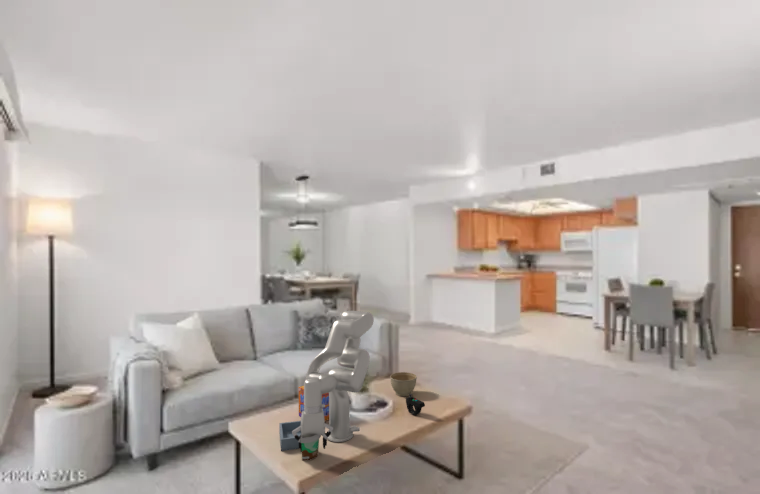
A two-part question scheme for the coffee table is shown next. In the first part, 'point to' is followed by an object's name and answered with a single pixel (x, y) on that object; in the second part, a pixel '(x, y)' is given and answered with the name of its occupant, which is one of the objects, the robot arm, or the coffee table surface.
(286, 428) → the bin
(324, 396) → the game box
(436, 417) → the coffee table surface
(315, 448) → the latticed semicircular wedge
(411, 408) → the controller
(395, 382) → the planter bowl
